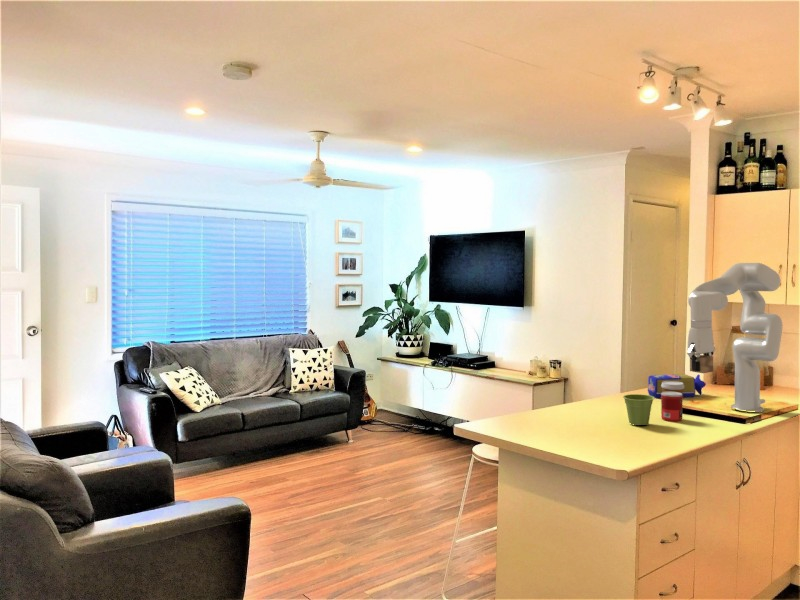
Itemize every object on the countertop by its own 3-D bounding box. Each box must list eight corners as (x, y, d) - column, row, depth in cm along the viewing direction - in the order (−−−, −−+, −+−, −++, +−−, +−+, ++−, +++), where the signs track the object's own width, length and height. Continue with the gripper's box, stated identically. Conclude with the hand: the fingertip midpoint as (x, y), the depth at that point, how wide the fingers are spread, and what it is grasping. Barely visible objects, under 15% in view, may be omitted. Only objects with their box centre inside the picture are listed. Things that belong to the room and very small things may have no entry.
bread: (645, 394, 308) (645, 373, 308) (695, 393, 309) (695, 372, 308) (654, 399, 298) (654, 377, 297) (706, 397, 299) (706, 376, 298)
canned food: (684, 422, 256) (684, 395, 255) (663, 421, 257) (663, 395, 256) (680, 417, 263) (679, 391, 262) (659, 417, 265) (659, 391, 264)
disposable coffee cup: (661, 411, 274) (660, 384, 273) (660, 406, 282) (660, 380, 282) (685, 413, 270) (685, 385, 269) (684, 408, 279) (684, 381, 278)
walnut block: (699, 369, 253) (699, 354, 253) (713, 371, 248) (713, 356, 248) (689, 371, 251) (689, 356, 250) (703, 373, 245) (703, 358, 245)
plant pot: (655, 422, 257) (655, 394, 256) (653, 429, 246) (653, 400, 246) (624, 419, 262) (624, 392, 261) (621, 426, 251) (621, 398, 250)
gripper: (707, 322, 255) (707, 366, 257) (678, 325, 247) (678, 371, 249) (724, 323, 249) (724, 368, 250) (694, 327, 241) (695, 374, 242)
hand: (701, 369), depth 249 cm, fingers closed on walnut block, 6 cm apart
